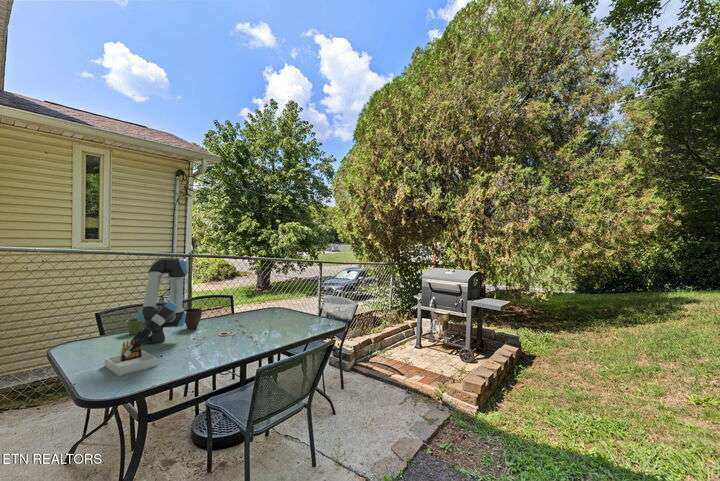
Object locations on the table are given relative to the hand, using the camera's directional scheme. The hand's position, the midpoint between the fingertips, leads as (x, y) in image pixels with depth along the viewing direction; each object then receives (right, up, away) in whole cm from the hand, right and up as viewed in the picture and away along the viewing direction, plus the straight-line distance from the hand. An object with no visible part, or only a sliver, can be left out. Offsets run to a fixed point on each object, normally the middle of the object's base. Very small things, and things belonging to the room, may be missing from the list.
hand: (124, 355), depth 191 cm
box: (+2, -8, +4) cm, 9 cm away
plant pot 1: (-40, -6, +64) cm, 76 cm away
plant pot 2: (-6, -8, +87) cm, 88 cm away
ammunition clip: (+2, -4, +3) cm, 5 cm away
